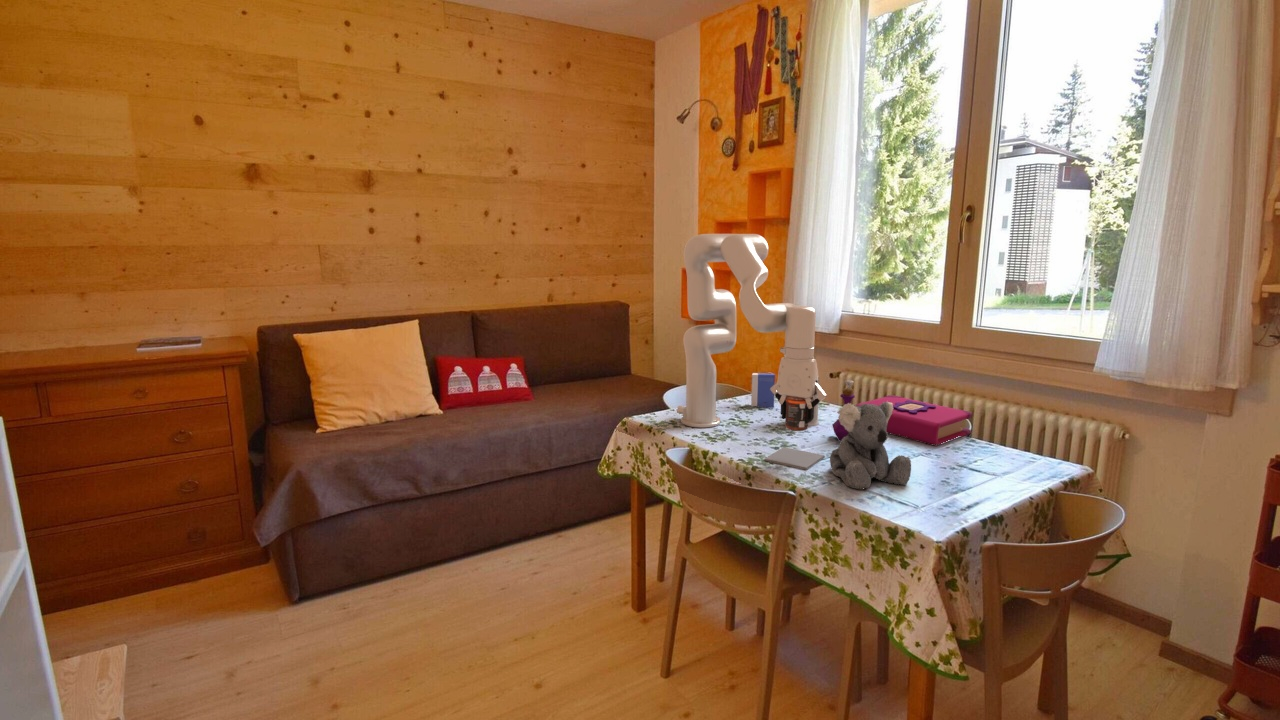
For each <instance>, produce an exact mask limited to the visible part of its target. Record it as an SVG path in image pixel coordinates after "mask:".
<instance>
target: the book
mask: <svg viewBox="0 0 1280 720" xmlns="http://www.w3.org/2000/svg"><path fill="white" fill-rule="evenodd" d="M887 401H888V402H890V403H893V408H894V409H893V411H892V414H891V416H890V418H889V420H888V424H887V429H886V430H887V434H890V433H891V435H893V436H894V435H895V436H897V435H898V437H901V436H902V438H905V437H906V438H905V439H909V440H913V441H916V440H917V442H920V441H921V443H924V442H925V444H928V443H929V444H928V445H931V444H933V445H932V446H935V445H938V444H941V443H943V442H946V441H948V440H951V439H954V438H956V437H958V436H962V437H961V438H963V437H965V436H968V435H971V432H972V431H971V429H970V428H966V427H963V425H962V422H963V421H964V420H965V421H966V420H969V419H973V412H972V411H969V410H964V409H958V408H953V407H947V406H943V405H938V404H934V403H929V402H925V401H920V400H916V399H912V398H911V399H910V398H906V397H903V396H900V395H899V396H898V395H893V394H890V395H889V394H888V395H885V396H883V397H879V398H875V399H870V400H868V401H867V400H866V401H865V402H864V401H863V402H860V403H856V404H855V405H856V406H860V405H863V404H868V405H869V404H873V405H876V406H879V405H881V404H882V403H883V402H887ZM946 443H947V442H946ZM941 445H942V444H941ZM938 446H939V445H938Z"/></svg>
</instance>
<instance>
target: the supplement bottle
mask: <svg viewBox="0 0 1280 720" xmlns="http://www.w3.org/2000/svg"><path fill="white" fill-rule="evenodd" d="M806 408H807V403H806V400H805V398H798V397H791V396H787V397H786V418H785V419H784V420H785V426H784V427H785V428H786V429H787V430H790V431H794V432H795V431H796V432H803V431H806V430H808V428H809V427H808V423H806V422H805V410H806Z"/></svg>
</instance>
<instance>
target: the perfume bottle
mask: <svg viewBox="0 0 1280 720" xmlns="http://www.w3.org/2000/svg"><path fill="white" fill-rule="evenodd" d="M843 381H844V383H845V385H846V386H847V387H845V388H843V389H842V393H841V394H840V398H842V400H843V406H844V405H845V404H848V403H849V404H850V403H851V404H852V400H853V399H854V398H856V396H855V395H854V389H853V388H852V386H853V385H854V382H855V381H853V380H843ZM839 421H840V420H838V419H836V421H834V423H832V424H831V426H832V429H833V432H834V435H835V436H836V438H837V440H838V442H841V440H842V439H843V438H844V437H846V436H847V435H848V434H849V433H848V431H847V430H846V429H845V427H844V426H843V425H841V424H840V423H841V422H839Z"/></svg>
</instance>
